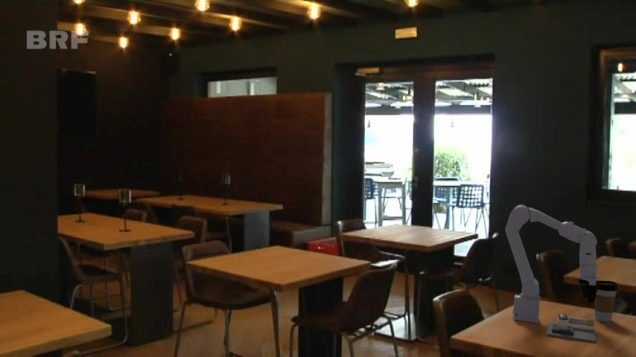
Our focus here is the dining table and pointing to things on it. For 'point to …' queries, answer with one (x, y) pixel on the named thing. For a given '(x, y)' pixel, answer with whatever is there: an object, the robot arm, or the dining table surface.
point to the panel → (572, 332)
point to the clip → (579, 320)
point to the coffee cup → (605, 300)
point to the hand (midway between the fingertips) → (588, 300)
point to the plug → (562, 323)
